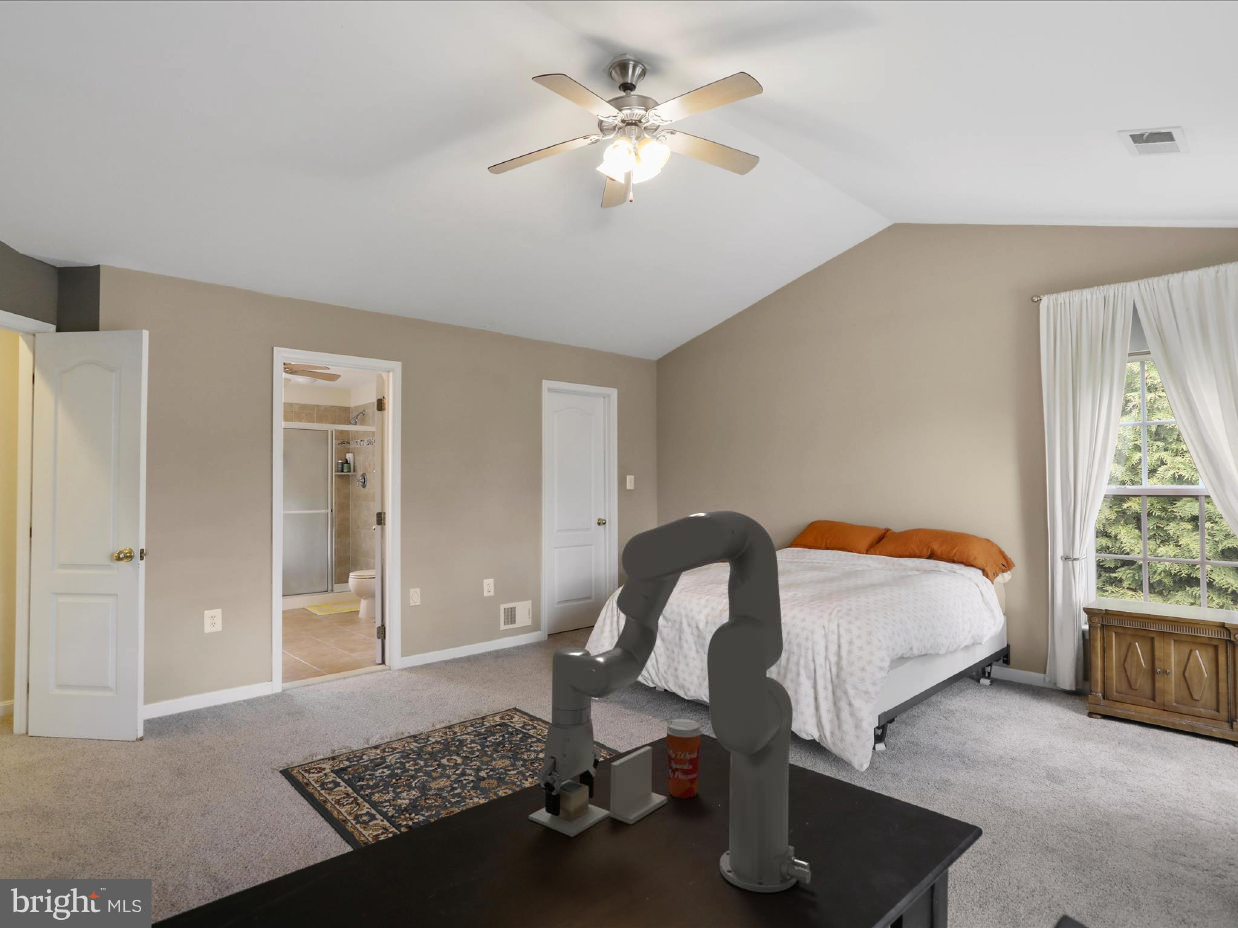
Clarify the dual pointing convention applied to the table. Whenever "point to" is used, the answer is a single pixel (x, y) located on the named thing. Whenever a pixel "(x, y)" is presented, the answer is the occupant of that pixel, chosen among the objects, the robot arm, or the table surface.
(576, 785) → the maple cube
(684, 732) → the paper cup
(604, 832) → the table surface
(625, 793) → the screen
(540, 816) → the felt mat
